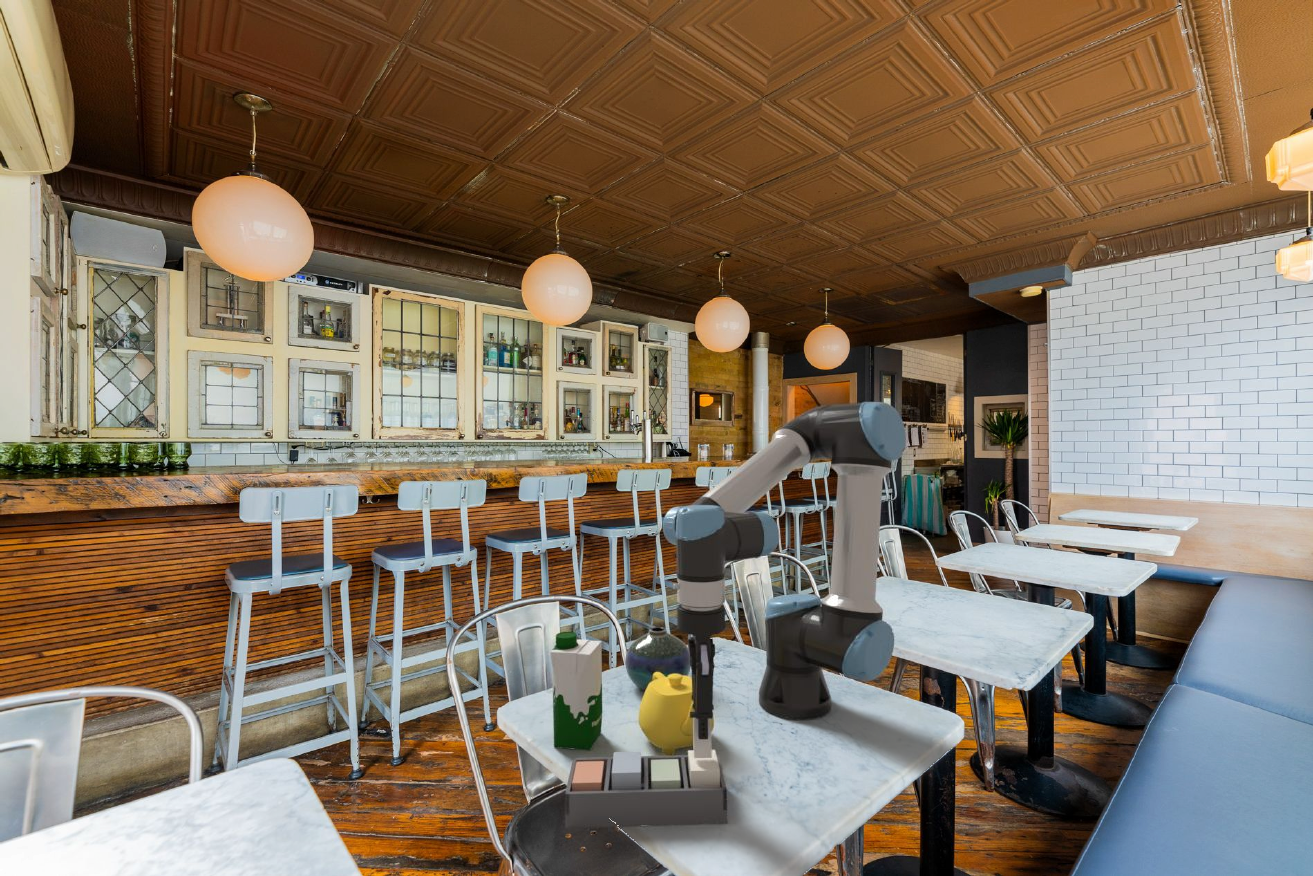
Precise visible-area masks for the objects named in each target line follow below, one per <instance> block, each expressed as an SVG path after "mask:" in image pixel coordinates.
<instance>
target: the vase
mask: <svg viewBox="0 0 1313 876" xmlns="http://www.w3.org/2000/svg"><path fill="white" fill-rule="evenodd" d="M624 659H625V663H624V664H625V669H626V672H627V675H628V677H629V679H630V680H631V681H632V683H633V684H634V685H635V686H636V687H638V688H639V689H641V690H643V691H646V689H647V687H648V685H649V683H650V682H652V681H653V674H654V673H655V672H660V673H662V674H663V675H664V676H665V677H668V675H670V674H680V675H685V676H689V674H690V672H691V666H690V653H689V649H688V645H687V644H686V643H685V642H684V641H683V640H681V639H680V638H678V637H677V636H675V635H673V634H671V633H669V632H668V631H667V628H666V627H662V626H654V627H653V626H652V627H650V628H649V630H648V633H646V634H643V635H642V636H639V638H636V640H635V641H633V642H632V643H631V644H630V645H629V647H628V649H627V651H626V654H625V658H624Z"/></svg>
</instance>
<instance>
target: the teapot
mask: <svg viewBox="0 0 1313 876" xmlns="http://www.w3.org/2000/svg"><path fill="white" fill-rule="evenodd" d="M694 711H695V710H694V709H693V700H692V676H689V675H688V676H685V675H680V674H670V675H668V677H665V676H664V675H663V674H662V673H660V672H655V673H654V674H653V681H652V682H650V683H649V685H648V687H647V689H646V690H644V693H643V696H642V698H641V701H640V705H639V710H638V724H639V728H640V729H641V731H642V733H643V734H644V736H645V737H646V739H647V740H648V741H649V742H650V743H651V744H652V745H654V746H655V747H657V748H659V749H662V750H661V754H662V756H672V755H675V754H676V749H682V748H688V747H692V748H693V718H690V712H694ZM714 726H715V719H714V717H713V718H712V719H711V733H712V732H713V730H714Z"/></svg>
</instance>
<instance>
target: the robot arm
mask: <svg viewBox="0 0 1313 876" xmlns="http://www.w3.org/2000/svg"><path fill="white" fill-rule="evenodd" d="M906 445H907V434H906V428H905V425H904V421H903V419H902V417H901V416H900V413H899V412H898V410H897V409H896V408H895V407H894V406H892V405H891V404H889V403H886V402H882V401H864V402H851V403H850V402H849V403H841V404H826V405H825V404H824V405H819V406H817V407H814V408H811V409H809V410H807V411H805V412H803V413H801V414H800V415H798V416H796V417H794V418H792V419H791V420H790V421H788V422H787V423H786V424H784V425H783V426H782V427H779V429H778V430H776V431H775V432H774V433H773V434H772V436H771V441H770V442H769V443H768V444H766V445H765V446H763V447H762V448H761V449H760V450H759V451H758V452H756V453H754V455H753V456H751V457H750V458H749V459H747V460H746V461H745V462H744V463H742V464H741V465H740V466H739V467H737V468H736V469H735V470H733V471H732V472H731V473H729V474H728V475H726V476H725V477H724V478H723V479H721V481H719V483H716V485H714V486H713V487H712V488H711V489H710V490H708V491H707V492H706V493H705V494H703V495H702V496H700V497H699V498H698V499H697V500H695V501H694V502H693V503H691V504H690V505H681V506H675V507H672V508H670V509H669V510H668V511H667V512H666V514H665V515H664V518H663V521H662V532H663V534H664V537H665V540H667V542H668V543H670V544H672V545H674V546H675V548H676V551H675V553H676V557H675V558H676V581H677V582H676V583H673V585H672V588H673V590H674V591H675V590H676V592H677V593H676V594H677V596H676V597H677V598H676V601H677V603H678V604H679V605H678V606H677V607H676V611H677V612H676V625H677V627H676V628H677V629H678V631H680V632H681V633H683V634H685V635H688V636H689V635H691V636H690V638H688V639H687V647H688V649H689V653H690V666H691V668H690V671H691V678H692V700H693V709H694V710H695V711H694V712H690V718H693V747H692V748H693V754H694V758H712V750H713V748H712V732H711V719H712V718H714V712H713V711H714V710H715V707H714V703H713V701H714V700H713V699H714V695H713V694H714V671H715V662H714V661H715V659H714V657H716V644H715V643H714V640H713V638H711V637H712V636H714V635H718V634H721V633H722V632H723V631H724V630H725V629H726V607H725V606H724V603H725V602H726V576H725V575H726V574H725V572H726V571H725V567H726V565H725V564H726V563H731V562H737V561H743V560H744V561H745V560H750V559H759V558H762V557H764V556H768V555H770V554H772V553H773V552H774V551H775V550H776V548H777V547H778V544H779V540H780V535H779V534H780V532H779V527H778V524H777V523H776V520H775V519H774V518H773V517H772V516H771V515H770V514H768V513H765V512H763V511H762V512H754V511H749V512H747V513H745V512H746V511H747V510H749V509H750V508H751V507H752V506H753V505H755V503H756V502H758V501H759V500H760V499H761V498H762V497H764V496H765V495H767V493H769V492H770V491H771V490H772V489H773V488H774V487H775V486H776V485H778V484H779V483H780V482H782V481H783V480H784V479H785V477H787V476H788V475H789V474H790V473H792V471H795V469H797V470H800V469H802V468H805V467H807V465H808V464H809V463H811V462H815V461H820V460H830V467H831V468H832V469H833V470H834V471H835V472H836V474H837V484H836V485H837V486H836V502H835V512H834V513H835V516H834V530H833V543H832V545H833V546H832V547H833V548H832V560H831V574H830V587H829V588H830V589H829V593H828V594H827V595H826V596H825V597H824V598H822V600H821V597H819V596H818V595H816V594H811V593H792V594H783V595H778V596H775V597H772V598H770V599H769V600H767V602H766V606H765V617H764V620H765V649H766V650H765V652H766V653H765V654H766V667H765V671H764V674H763V677H762V679H761V683H760V687H759V690H758V703H759V705H760V707H761V708H762V709H763V710H764V711H766V712H768V713H770V715H773V716H776V717H780V718H782V719H783V718H784V719H789V720H799V721H803V720H806V721H808V720H814V719H819V718H822V717H825V716H826V715H828V714H829V713H830V711H831V710H832V697H831V696H832V695H831V692H830V690H829V686H828V684H827V681H826V678H825V676H824V672H823V668H824V669H826V670H829V671H832V672H835V673H838V674H840V675H843V676H845V677H847V678H849V679H856V680H860V681H863V682H869V681H873V680H875V679H877V678H878V677H880V676H881V674H883V672H884V671H885V669H886V668H887V667H888V665H889V663H890V661H891V659H892V656H893V653H894V648H895V634H894V632H893V628H892V626H891V625H890V624H889V623H888V622H887V621H884V620H883V615H884V612H883V611H884V610H883V607H882V606H881V605H880V604H879V603H878V602H877V600H876V593H877V576H878V562H879V561H878V559H879V546H880V545H879V544H880V542H879V541H880V528H881V526H880V525H881V512H882V511H881V510H882V494H883V481H884V478H885V477H886V476H887V475H888V474H890V472H892V463H893V462H894V461H896V460H898V459H900V458H901V457H902V456H903V454H904V452H905V450H906Z"/></svg>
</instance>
